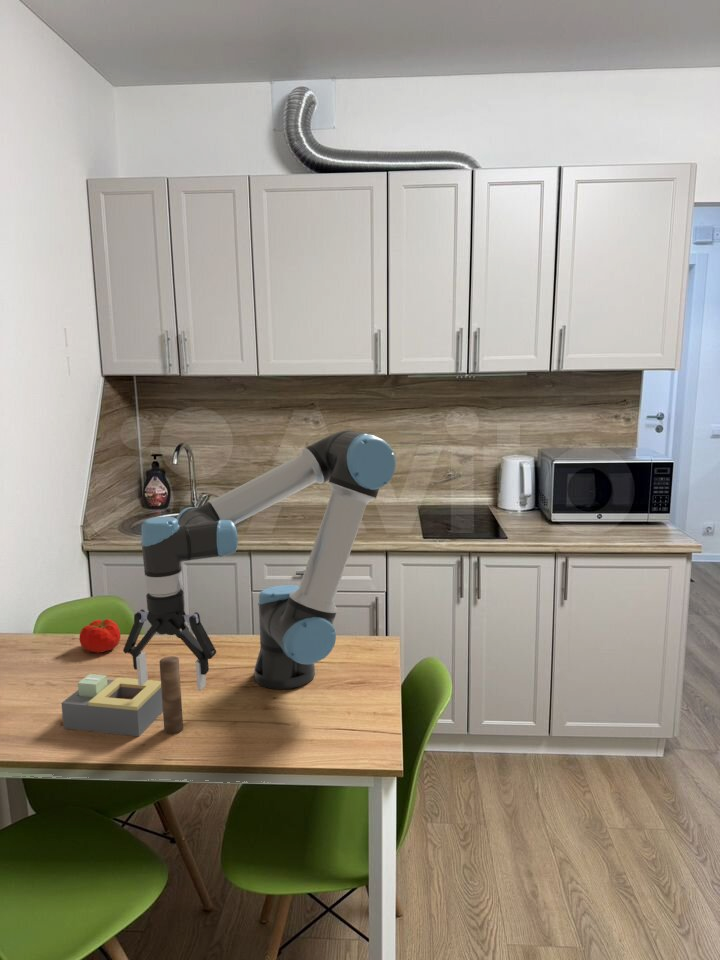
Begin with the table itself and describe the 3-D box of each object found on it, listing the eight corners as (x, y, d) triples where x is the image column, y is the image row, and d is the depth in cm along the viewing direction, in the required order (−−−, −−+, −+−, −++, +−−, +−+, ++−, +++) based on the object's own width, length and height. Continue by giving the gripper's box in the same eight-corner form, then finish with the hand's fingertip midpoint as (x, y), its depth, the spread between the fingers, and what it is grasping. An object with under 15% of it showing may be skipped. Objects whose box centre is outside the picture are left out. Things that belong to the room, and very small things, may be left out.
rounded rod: (186, 725, 156) (182, 657, 153) (178, 735, 152) (173, 665, 149) (169, 723, 156) (164, 655, 153) (160, 733, 152) (156, 663, 150)
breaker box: (165, 708, 163) (163, 681, 162) (139, 736, 151) (136, 706, 150) (94, 702, 167) (92, 675, 165) (63, 728, 155) (61, 699, 154)
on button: (108, 692, 161) (106, 675, 160) (97, 701, 156) (95, 684, 156) (90, 690, 162) (89, 673, 161) (79, 699, 157) (77, 682, 157)
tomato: (98, 660, 189) (96, 633, 188) (72, 651, 195) (70, 625, 194) (130, 646, 198) (128, 620, 197) (105, 638, 204) (103, 613, 203)
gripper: (227, 587, 149) (233, 681, 153) (120, 582, 154) (128, 673, 158) (213, 600, 142) (219, 698, 146) (100, 594, 147) (110, 689, 151)
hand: (172, 685), depth 152 cm, fingers open, 13 cm apart
